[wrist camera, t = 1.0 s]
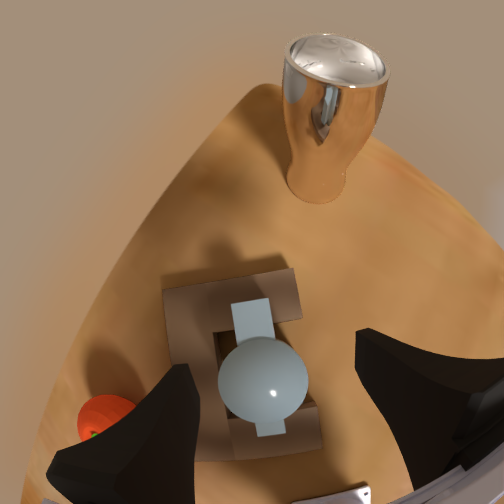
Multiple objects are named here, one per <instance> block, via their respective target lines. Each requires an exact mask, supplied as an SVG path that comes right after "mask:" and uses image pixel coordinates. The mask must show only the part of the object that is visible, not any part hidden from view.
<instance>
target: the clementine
mask: <svg viewBox="0 0 504 504" xmlns="http://www.w3.org/2000/svg"><path fill="white" fill-rule="evenodd" d="M135 407H136V405H135V404H134V403H132V402H131V401H129V400H127V399H125V398H123V397H120V396H116V395H99V396H96V397H94V398H92V399H90V400H88V401H87V402H86V403H85V404H84V405H83V407H82V408H81V410H80V412H79V414H78V421H77V427H78V433H79V436H80V439H81V441H82V442H83V441H85V440H88V439H90V438H92V437H94V436H95V435H97V434H99V433H101V432H103V431H104V430H106V429H107V428H109V427H110V426H112V425H113V424H115V423H116V422H118V421H119V420H121V419H122V418H123V417H124V416H126V415H127V414H128V413H129V412H130V411H132V410H133V409H134V408H135Z"/></svg>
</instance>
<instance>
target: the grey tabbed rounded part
mask: <svg viewBox="0 0 504 504" xmlns="http://www.w3.org/2000/svg"><path fill="white" fill-rule="evenodd" d="M231 308H232V314H233V321H234V327H235V334H236V340H237V346H238V347H237V348H235V349H234V350H233V351H231V352H230V353H229V355H228V356H227V357H226V358H225V360H224V361H223V363H222V365H221V367H220V371H219V375H218V388H219V392H220V395H221V398H222V400H223V402H224V403H225V405H226V406H227V407H228V409H229V410H230V411H231V412H233V413H234V414H235V415H236V416H238V417H240V418H242V419H244V420H246V421H249V422H253V423H255V425H256V431H257V436H258V437H260V436H268V435H276V434H283V433H286V429H285V423H284V418H286V417H288V416H290V415H291V414H292V413H293V412H295V411H296V410H297V409H298V408H299V406H300V405H301V404H302V402H303V400H304V398H305V396H306V393H307V389H308V374H307V370H306V367H305V365H304V363H303V361H302V359H301V358H300V357H299V355H298V354H297V353H296V352H295V351H294V350H293V349H292V347H291V346H290V345H288V344H287V343H286V342H284V341H282V340H280V339H277V338H276V337H275V331H274V325H273V319H272V313H271V307H270V302H269V298H264V299H258V300H253V301H246V302H240V303H234V304H231ZM239 345H240V346H239Z"/></svg>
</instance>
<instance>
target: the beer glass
mask: <svg viewBox="0 0 504 504" xmlns="http://www.w3.org/2000/svg"><path fill="white" fill-rule="evenodd" d="M284 53H285V59H284V69H283V80H282V112H283V118H284V124H285V129H286V133H287V137H288V141H289V145H290V149H291V160H290V162H289V165H288V168H287V172H286V179H287V183H288V186H289V188H290V189H291V191H292V192H293V193H294V194H295V195H296V196H297V197H298V198H300V199H301V200H303V201H306V202H308V203H312V204H325V203H329V202H331V201H333V200H335V199H336V198H338V197H339V196H340V195H341V193H342V192H343V190H344V187H345V182H346V170H347V168H348V166H349V165H350V164H351V162H352V161H353V160H354V158H355V157H356V156H357V154H358V153H359V152H360V150H361V149H362V148H363V146H364V145H365V143H366V142H367V140H368V139H369V137H370V135H371V134H372V132H373V129H374V127H375V125H376V123H377V120H378V118H379V114H380V112H381V108H382V105H383V101H384V97H385V93H386V88H387V84H388V80H389V77H390V74H391V70H390V66H389V64H388V62H387V60H386V59H385V58H384V56H383V55H382V54H381V53H379V52H378V51H377V50H376V49H374V48H373V47H371V46H370V45H368V44H366V43H364V42H362V41H360V40H357V39H355V38H352V37H349V36H345V35H341V34H335V33H325V32H319V33H308V34H304V35H300V36H298V37H296V38H294V39H292V40H291V41H290V42H288V44H287V45H286V47H285V51H284Z"/></svg>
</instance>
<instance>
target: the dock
mask: <svg viewBox="0 0 504 504" xmlns="http://www.w3.org/2000/svg"><path fill="white" fill-rule="evenodd" d="M162 292H163V303H164V312H165V321H166V329H167V337H168V345H169V352H170V358H171V365H172V366H173V365H174V364H184V363H188V365H189V368H190V371H191V374H192V376H193V379H194V382H195V385H196V388H197V390H198V393H199V396H200V423H199V430H198V437H197V444H196V452H195V460H194V461H233V460H248V459H259V458H268V457H276V456H283V455H290V454H296V453H302V452H307V451H312V450H317V449H322V448H323V446H322V438H321V430H320V423H319V416H318V408H317V405H316V403H315V401H313V402H308V403H303V404H301V405H300V406H299V408H298V409H297V410H296V411H295V412H293V413H292V414H291V415H290V416H288V417H286V418H284V423H285V429H286V433H283V434H276V435H268V436H260V437H258V436H257V431H256V425H255V423H253V422H249V421H246V420H244V419H242V418H240V417H238V416H236V415H235V414H234V413H231V412H230V410H229V409H228V407H227V406H226V405H225V403H224V402H223V400H222V398H221V395H220V392H219V388H218V375H219V371H220V367H221V365H222V361H221V355H220V349H219V342H218V336H217V332H224V331H232V330H235V327H234V321H233V314H232V308H231V304H234V303H240V302H246V301H253V300H258V299H264V298H269V302H270V307H271V313H272V319H273V324H275V323H281V322H287V321H292V320H297V319H301V318H303V316H302V310H301V305H300V300H299V294H298V289H297V284H296V279H295V274H294V269H293V268H289V269H283V270H277V271H272V272H266V273H261V274H255V275H249V276H243V277H238V278H232V279H226V280H220V281H214V282H208V283H202V284H196V285H189V286H183V287H177V288H170V289H164V290H162Z"/></svg>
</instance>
